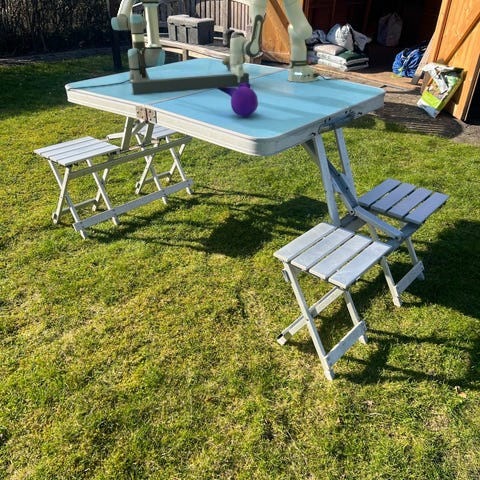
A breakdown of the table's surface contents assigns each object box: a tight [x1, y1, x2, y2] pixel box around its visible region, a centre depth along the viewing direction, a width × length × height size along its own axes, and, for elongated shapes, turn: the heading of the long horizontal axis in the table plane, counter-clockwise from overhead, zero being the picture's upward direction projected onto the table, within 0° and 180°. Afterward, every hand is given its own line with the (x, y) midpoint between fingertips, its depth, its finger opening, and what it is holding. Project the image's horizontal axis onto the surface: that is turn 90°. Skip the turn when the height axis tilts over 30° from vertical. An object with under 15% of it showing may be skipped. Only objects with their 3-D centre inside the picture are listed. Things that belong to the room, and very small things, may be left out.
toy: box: [216, 82, 259, 118], centre depth 249 cm, size 16×18×27 cm
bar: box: [130, 72, 250, 95], centre depth 310 cm, size 81×6×8 cm, turn 107°
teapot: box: [221, 53, 246, 72], centre depth 367 cm, size 21×12×15 cm, turn 120°
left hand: (142, 76), depth 298 cm, fingers open, 13 cm apart
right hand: (237, 81), depth 319 cm, fingers closed on bar, 5 cm apart
